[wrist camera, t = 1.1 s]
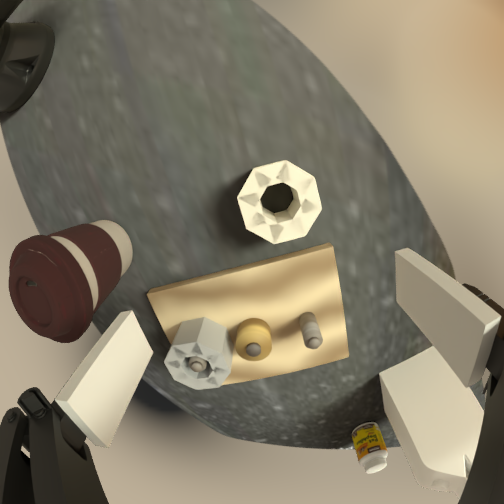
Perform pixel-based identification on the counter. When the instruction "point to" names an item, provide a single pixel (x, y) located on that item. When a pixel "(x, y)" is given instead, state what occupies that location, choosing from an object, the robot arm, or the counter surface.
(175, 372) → the seated gear
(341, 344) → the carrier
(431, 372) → the milk
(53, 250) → the coffee cup
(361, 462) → the supplement bottle
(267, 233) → the white octagonal block
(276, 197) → the counter surface
